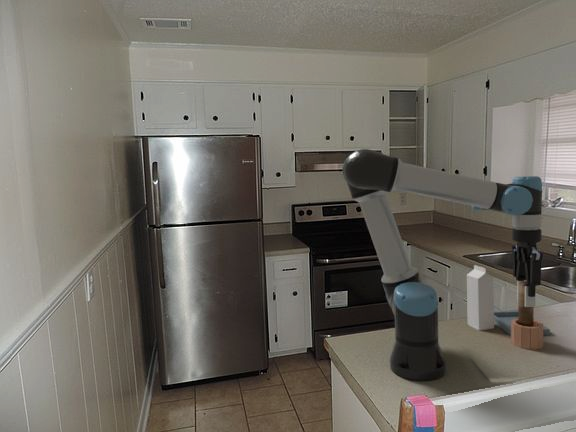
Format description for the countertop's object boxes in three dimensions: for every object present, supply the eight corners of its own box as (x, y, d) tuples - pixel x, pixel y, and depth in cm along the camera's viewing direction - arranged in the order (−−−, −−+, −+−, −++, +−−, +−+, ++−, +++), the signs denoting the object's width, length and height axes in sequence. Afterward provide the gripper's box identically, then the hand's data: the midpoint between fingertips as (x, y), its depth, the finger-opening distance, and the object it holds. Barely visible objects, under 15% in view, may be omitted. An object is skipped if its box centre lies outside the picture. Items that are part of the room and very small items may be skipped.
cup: (519, 352, 121) (519, 328, 120) (506, 341, 129) (506, 318, 128) (549, 352, 120) (549, 327, 119) (533, 340, 128) (533, 317, 128)
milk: (482, 325, 144) (481, 264, 142) (494, 331, 138) (493, 267, 136) (467, 327, 142) (466, 265, 140) (478, 333, 136) (478, 269, 134)
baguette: (522, 330, 122) (522, 285, 121) (515, 325, 126) (516, 282, 125) (535, 330, 122) (536, 285, 121) (529, 325, 126) (529, 281, 125)
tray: (511, 338, 131) (510, 330, 130) (487, 319, 149) (487, 311, 148) (549, 337, 130) (549, 329, 130) (521, 318, 148) (521, 310, 147)
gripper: (556, 231, 112) (555, 313, 115) (525, 224, 129) (524, 295, 131) (528, 232, 113) (527, 313, 115) (500, 225, 130) (500, 296, 132)
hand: (525, 303), depth 123 cm, fingers closed on baguette, 4 cm apart
